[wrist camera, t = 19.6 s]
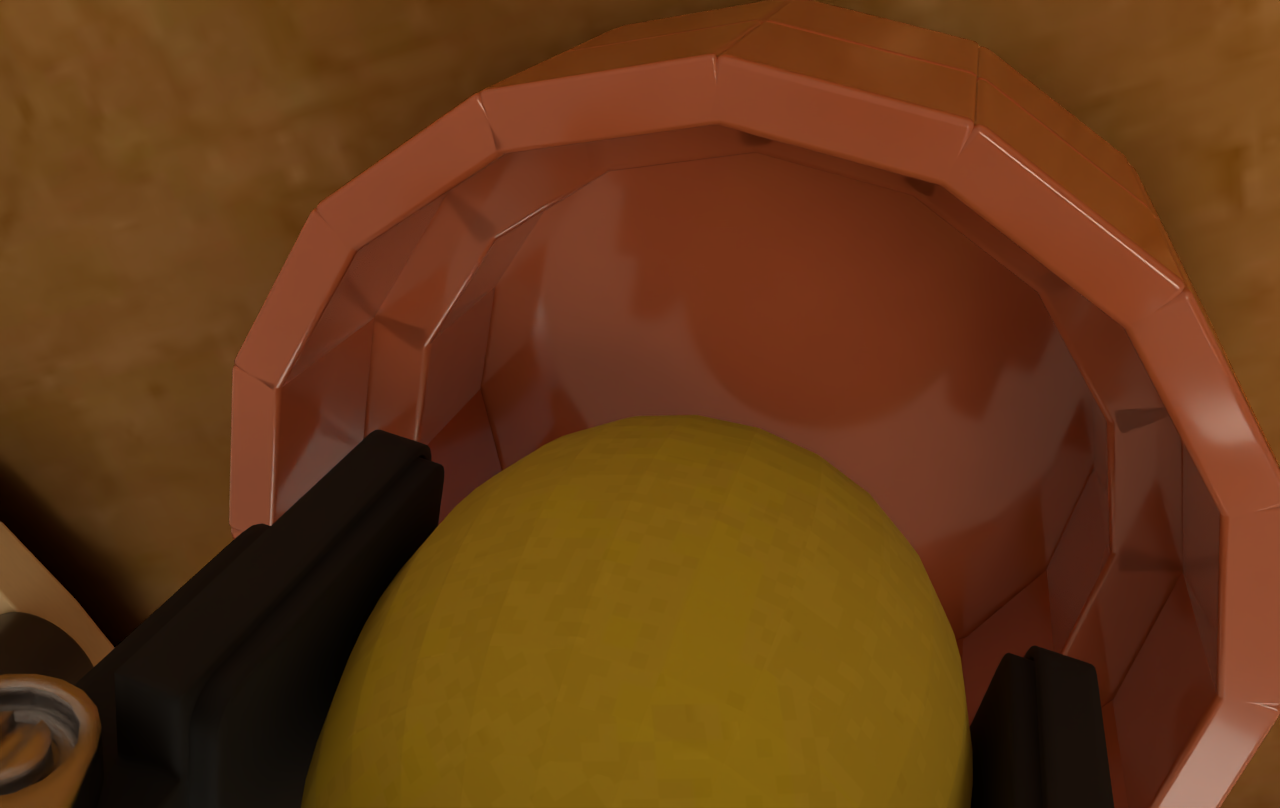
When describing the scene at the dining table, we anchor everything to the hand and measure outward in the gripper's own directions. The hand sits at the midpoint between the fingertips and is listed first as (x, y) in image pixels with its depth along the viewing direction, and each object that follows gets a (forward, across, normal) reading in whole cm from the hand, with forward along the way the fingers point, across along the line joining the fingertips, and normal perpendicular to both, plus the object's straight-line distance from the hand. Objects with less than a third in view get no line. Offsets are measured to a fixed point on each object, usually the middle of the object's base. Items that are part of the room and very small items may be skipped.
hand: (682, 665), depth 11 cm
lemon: (+3, 0, 0) cm, 3 cm away
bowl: (+6, 0, 0) cm, 6 cm away
